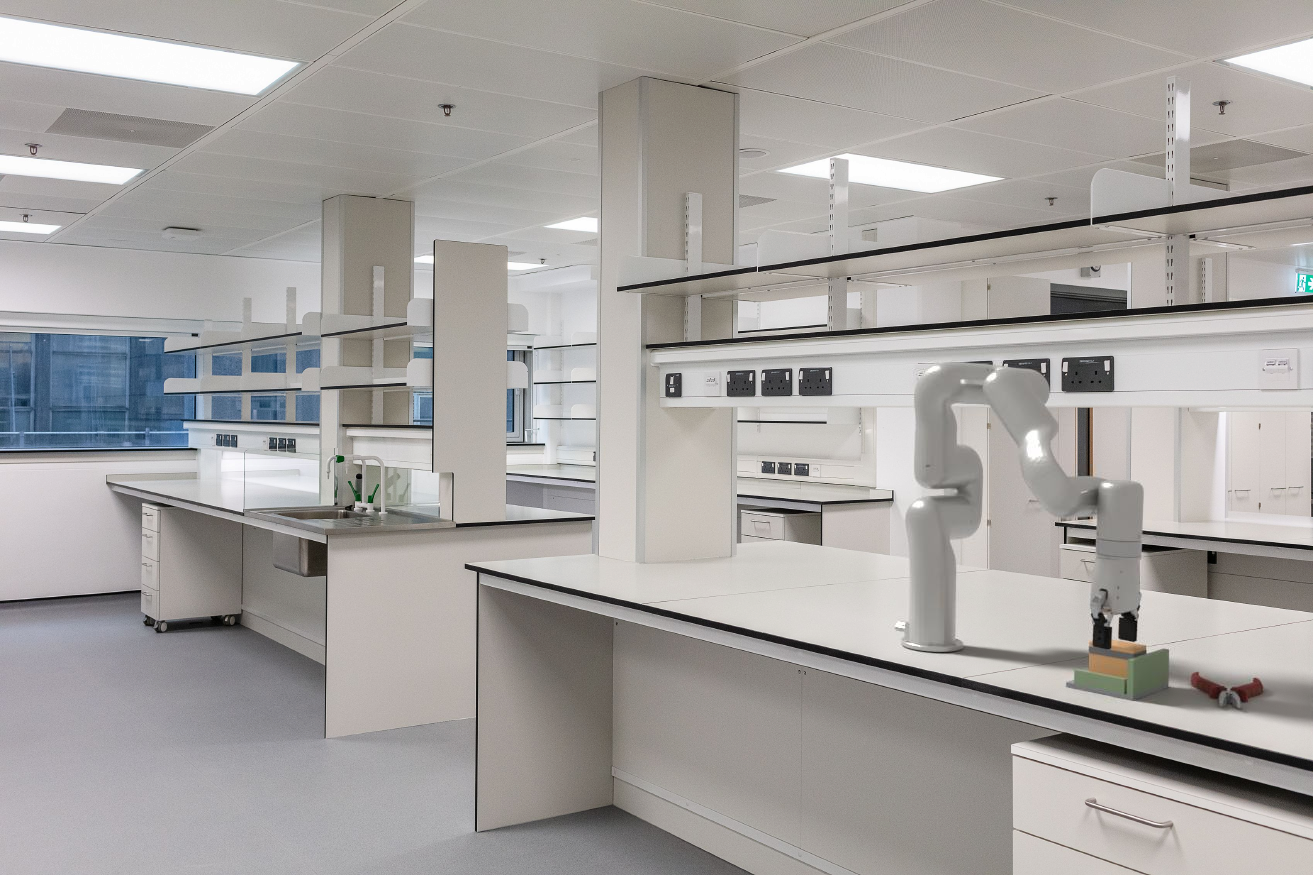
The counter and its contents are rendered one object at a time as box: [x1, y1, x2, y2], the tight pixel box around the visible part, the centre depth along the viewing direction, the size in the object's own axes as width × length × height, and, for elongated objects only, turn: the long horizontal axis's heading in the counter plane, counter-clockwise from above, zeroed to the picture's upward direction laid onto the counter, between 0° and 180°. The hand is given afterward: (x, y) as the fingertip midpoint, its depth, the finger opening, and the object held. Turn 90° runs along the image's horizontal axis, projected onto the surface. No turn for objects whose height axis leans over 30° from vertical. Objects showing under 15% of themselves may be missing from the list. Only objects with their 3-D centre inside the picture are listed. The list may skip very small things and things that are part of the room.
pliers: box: [1190, 671, 1264, 709], centre depth 183 cm, size 12×20×3 cm, turn 154°
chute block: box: [1088, 639, 1148, 679], centre depth 189 cm, size 8×5×7 cm, turn 42°
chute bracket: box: [1065, 648, 1170, 701], centre depth 189 cm, size 12×14×7 cm
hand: (1114, 644), depth 189 cm, fingers open, 9 cm apart
